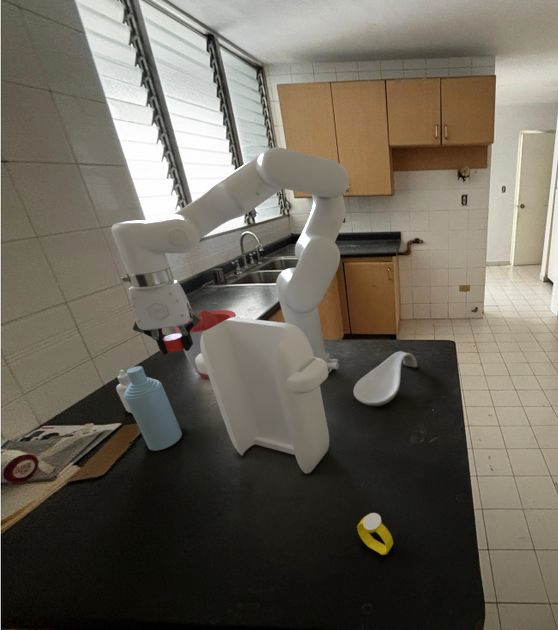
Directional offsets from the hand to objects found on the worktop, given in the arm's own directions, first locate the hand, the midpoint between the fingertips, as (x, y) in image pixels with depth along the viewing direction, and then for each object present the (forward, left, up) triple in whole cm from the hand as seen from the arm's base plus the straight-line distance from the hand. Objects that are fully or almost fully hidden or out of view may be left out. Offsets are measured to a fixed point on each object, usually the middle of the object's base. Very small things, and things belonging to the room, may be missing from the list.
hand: (177, 349), depth 82 cm
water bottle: (-2, +12, -17) cm, 21 cm away
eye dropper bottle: (+15, +4, -17) cm, 23 cm away
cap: (0, 0, 0) cm, 1 cm away
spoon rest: (-48, -15, -17) cm, 53 cm away
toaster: (-32, +10, -17) cm, 38 cm away
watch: (-58, +27, -17) cm, 66 cm away
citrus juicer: (+8, -17, -17) cm, 25 cm away
